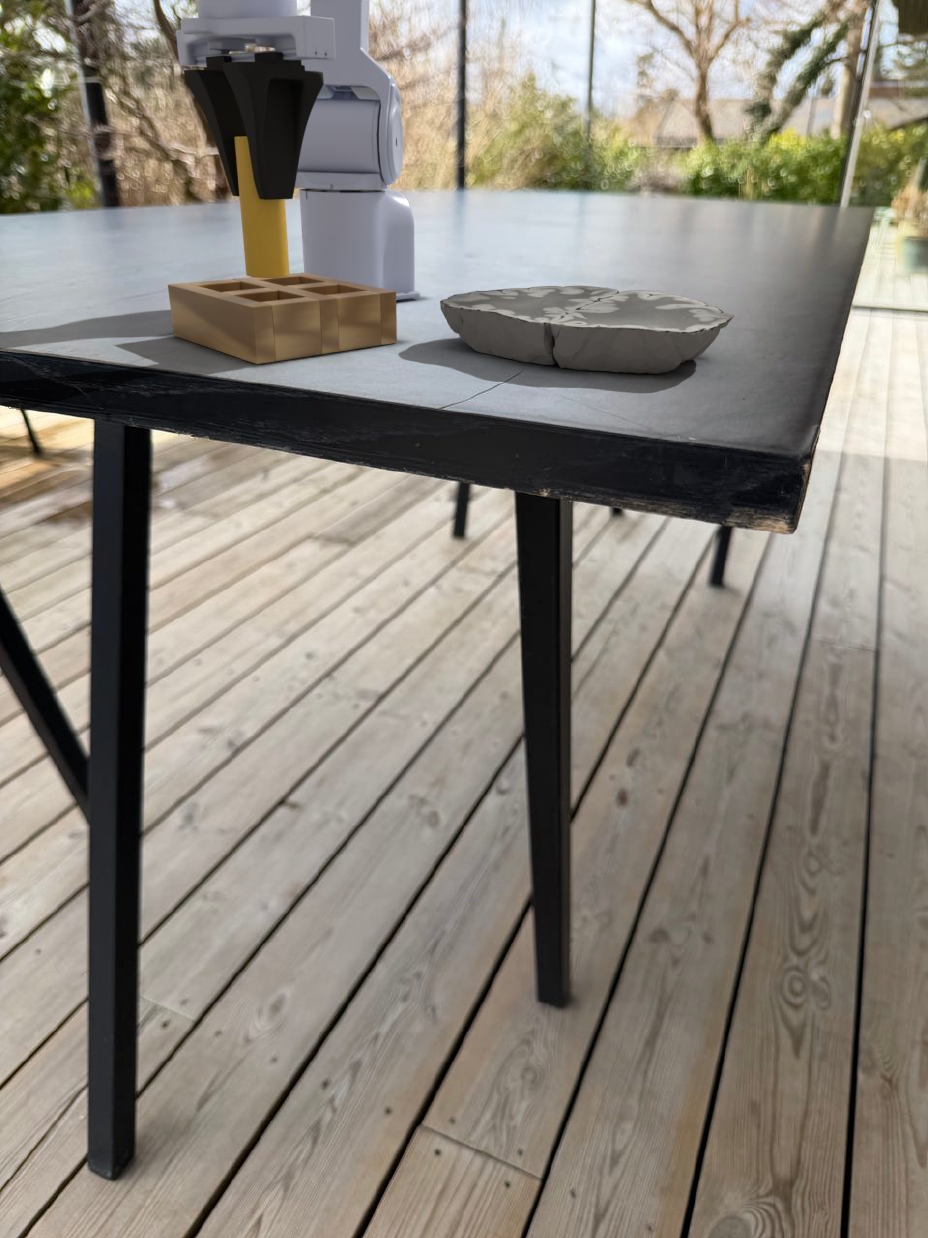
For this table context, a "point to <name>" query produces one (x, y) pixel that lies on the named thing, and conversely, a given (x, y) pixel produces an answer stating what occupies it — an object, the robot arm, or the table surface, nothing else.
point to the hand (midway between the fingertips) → (262, 197)
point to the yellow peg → (260, 223)
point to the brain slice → (586, 327)
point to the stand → (283, 316)
